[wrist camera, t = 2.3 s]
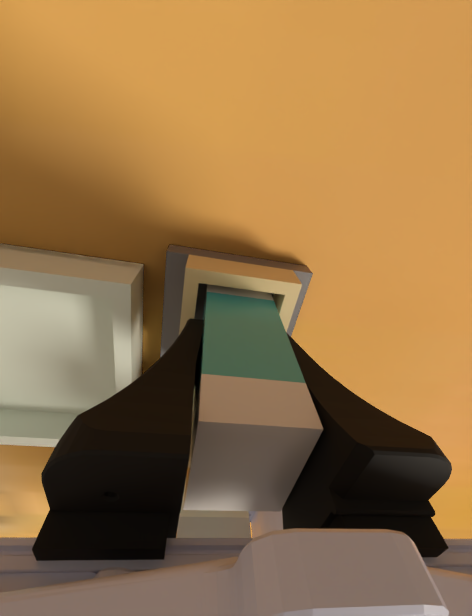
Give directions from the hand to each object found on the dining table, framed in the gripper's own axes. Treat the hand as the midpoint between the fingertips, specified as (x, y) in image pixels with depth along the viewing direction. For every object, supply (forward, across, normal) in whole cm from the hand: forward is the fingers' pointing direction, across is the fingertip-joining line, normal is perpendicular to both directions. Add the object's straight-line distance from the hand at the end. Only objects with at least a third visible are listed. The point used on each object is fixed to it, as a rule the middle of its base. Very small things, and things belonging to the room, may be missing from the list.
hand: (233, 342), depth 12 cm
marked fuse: (+2, 0, 0) cm, 2 cm away
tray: (+3, +10, +4) cm, 11 cm away
